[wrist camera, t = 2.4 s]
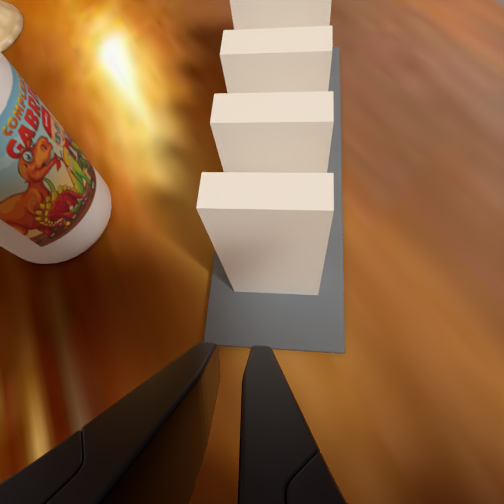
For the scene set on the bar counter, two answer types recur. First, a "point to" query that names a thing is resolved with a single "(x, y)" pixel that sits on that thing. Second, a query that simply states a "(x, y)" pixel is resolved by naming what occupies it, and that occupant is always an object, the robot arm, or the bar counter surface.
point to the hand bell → (9, 25)
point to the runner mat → (289, 305)
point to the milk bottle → (44, 180)
